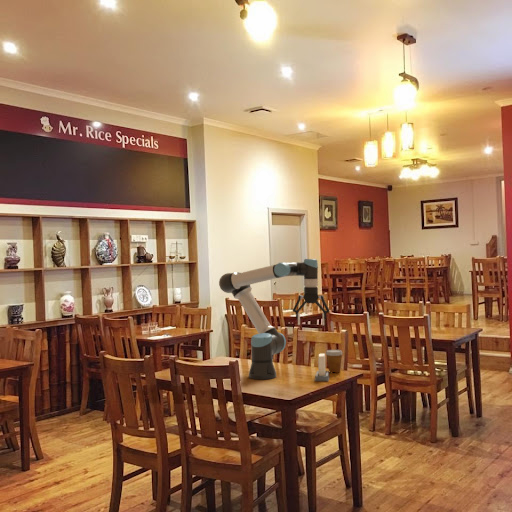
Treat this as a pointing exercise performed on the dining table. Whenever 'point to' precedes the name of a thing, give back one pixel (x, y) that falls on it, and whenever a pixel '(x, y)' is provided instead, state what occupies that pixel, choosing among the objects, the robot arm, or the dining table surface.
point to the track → (322, 377)
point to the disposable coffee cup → (334, 360)
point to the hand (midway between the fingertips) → (311, 325)
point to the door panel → (321, 365)
